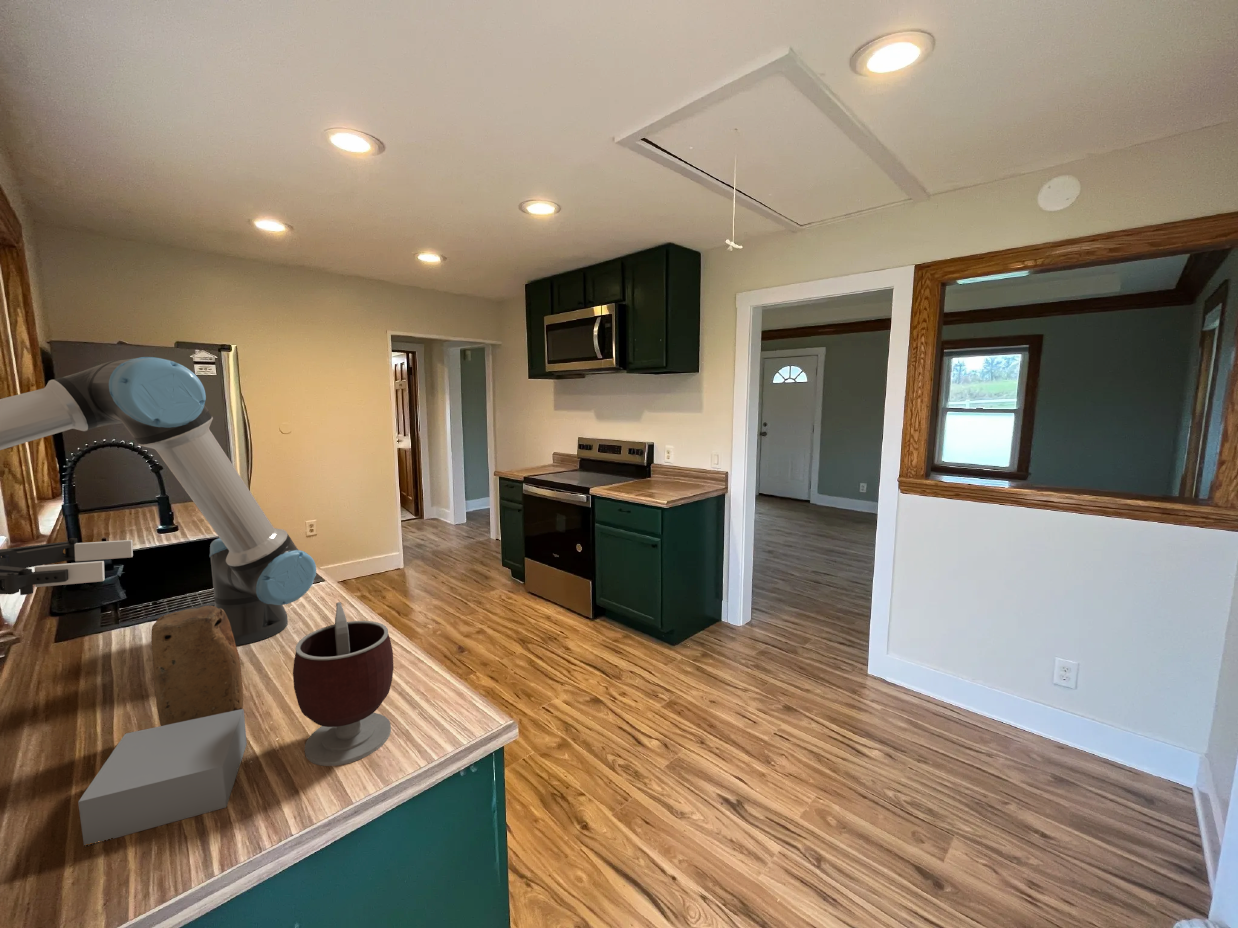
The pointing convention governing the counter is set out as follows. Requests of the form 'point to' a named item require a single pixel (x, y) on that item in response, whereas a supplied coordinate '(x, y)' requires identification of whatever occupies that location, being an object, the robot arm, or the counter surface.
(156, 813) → the grey base block
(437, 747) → the counter surface
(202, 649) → the block
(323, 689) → the mate gourd
